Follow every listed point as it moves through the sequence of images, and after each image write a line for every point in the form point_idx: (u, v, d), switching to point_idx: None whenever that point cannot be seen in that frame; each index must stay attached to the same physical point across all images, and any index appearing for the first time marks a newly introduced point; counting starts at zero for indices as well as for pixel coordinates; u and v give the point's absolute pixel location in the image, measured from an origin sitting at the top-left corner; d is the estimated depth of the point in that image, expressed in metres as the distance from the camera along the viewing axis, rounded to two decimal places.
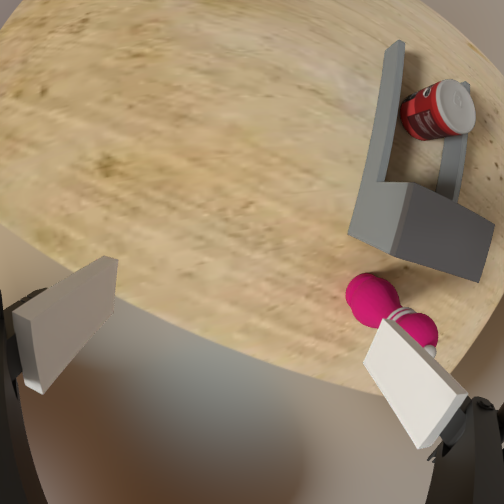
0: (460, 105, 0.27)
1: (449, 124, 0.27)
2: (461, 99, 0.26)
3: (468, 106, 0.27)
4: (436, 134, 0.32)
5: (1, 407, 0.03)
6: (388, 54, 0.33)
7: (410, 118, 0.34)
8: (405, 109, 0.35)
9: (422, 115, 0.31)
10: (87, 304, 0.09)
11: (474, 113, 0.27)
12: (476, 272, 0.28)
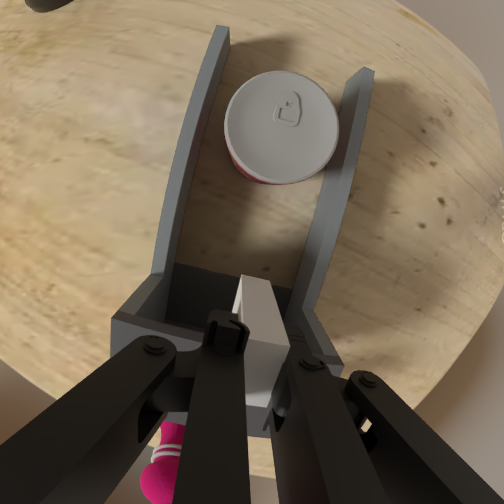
0: (291, 122, 0.17)
1: (248, 171, 0.18)
2: (299, 107, 0.17)
3: (320, 118, 0.17)
4: (262, 182, 0.22)
5: (242, 438, 0.05)
6: None
7: None
8: None
9: None
10: None
11: (334, 131, 0.17)
12: None
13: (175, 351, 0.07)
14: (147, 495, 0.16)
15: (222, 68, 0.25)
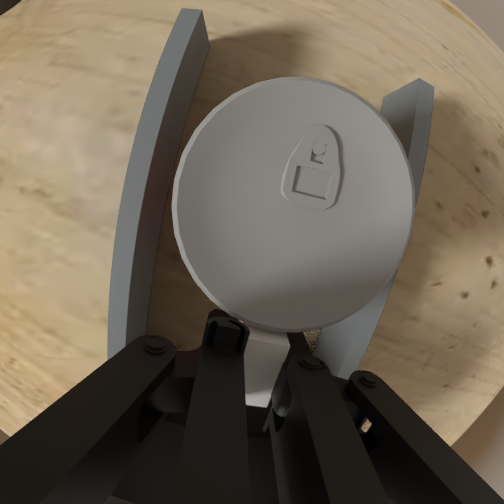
0: (322, 199, 0.08)
1: (228, 312, 0.09)
2: (339, 163, 0.08)
3: (379, 189, 0.08)
4: None
5: (242, 438, 0.05)
6: None
7: None
8: None
9: None
10: None
11: (406, 218, 0.08)
12: None
13: (175, 351, 0.07)
14: None
15: (196, 77, 0.16)
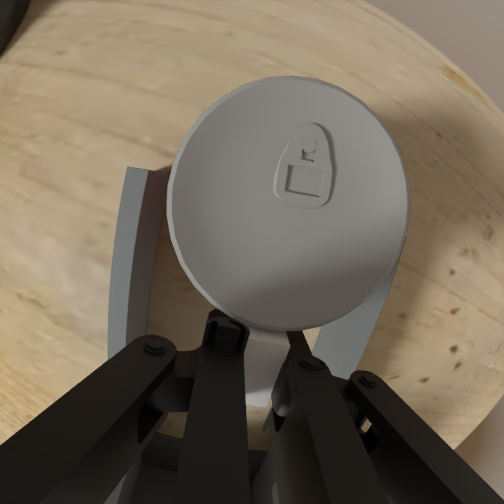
0: (315, 197, 0.08)
1: (229, 315, 0.09)
2: (331, 159, 0.08)
3: (373, 183, 0.08)
4: None
5: (242, 438, 0.05)
6: None
7: None
8: None
9: None
10: None
11: (401, 211, 0.08)
12: None
13: (175, 351, 0.07)
14: None
15: (159, 218, 0.18)
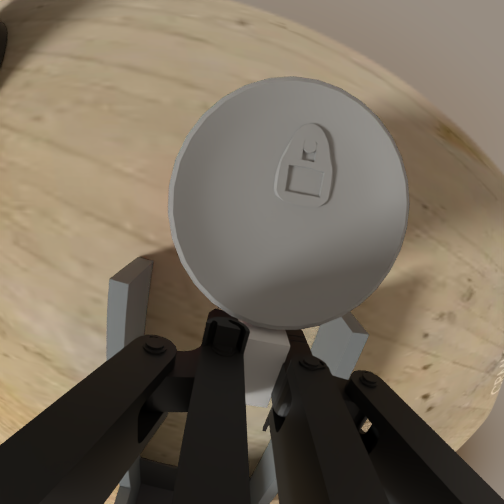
0: (316, 196, 0.08)
1: (230, 313, 0.09)
2: (331, 160, 0.08)
3: (372, 183, 0.08)
4: None
5: (242, 438, 0.05)
6: None
7: None
8: None
9: None
10: None
11: (401, 211, 0.08)
12: None
13: (175, 351, 0.07)
14: None
15: (145, 302, 0.19)
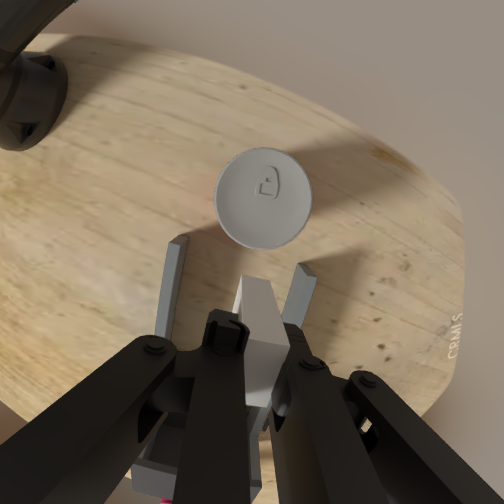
0: (271, 195, 0.22)
1: None
2: (277, 181, 0.21)
3: (296, 190, 0.22)
4: None
5: (242, 438, 0.05)
6: None
7: None
8: None
9: None
10: None
11: (308, 201, 0.22)
12: None
13: (175, 351, 0.07)
14: None
15: (182, 262, 0.33)
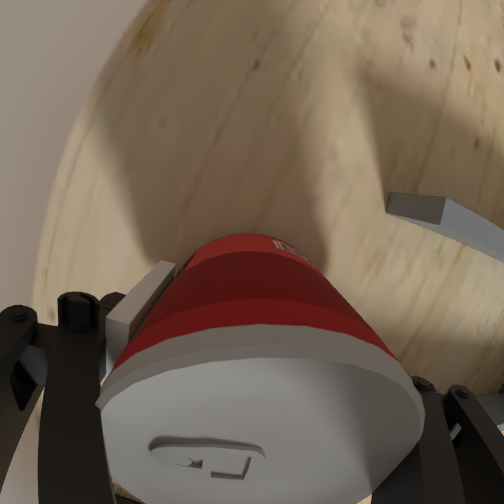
0: (251, 459, 0.05)
1: (371, 490, 0.06)
2: (195, 444, 0.05)
3: (224, 397, 0.05)
4: None
5: (95, 416, 0.04)
6: None
7: None
8: None
9: None
10: None
11: (276, 363, 0.04)
12: None
13: (35, 317, 0.06)
14: None
15: None
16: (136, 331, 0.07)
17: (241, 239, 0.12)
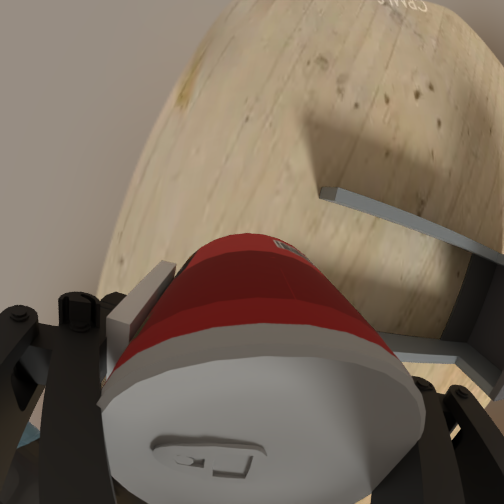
0: (253, 458, 0.05)
1: (372, 489, 0.06)
2: (198, 443, 0.05)
3: (227, 396, 0.05)
4: None
5: (96, 416, 0.04)
6: None
7: None
8: None
9: None
10: None
11: (279, 361, 0.04)
12: None
13: (36, 317, 0.06)
14: None
15: None
16: None
17: (241, 238, 0.12)
